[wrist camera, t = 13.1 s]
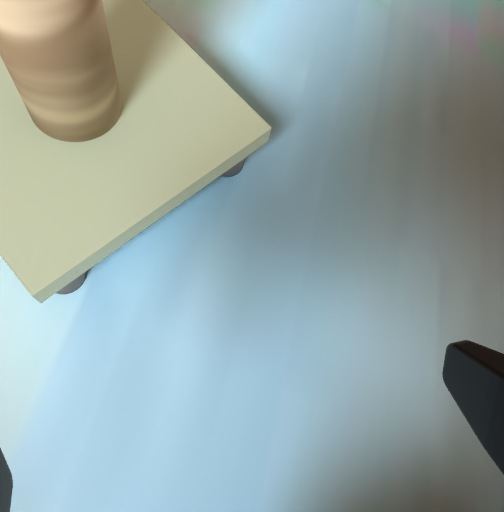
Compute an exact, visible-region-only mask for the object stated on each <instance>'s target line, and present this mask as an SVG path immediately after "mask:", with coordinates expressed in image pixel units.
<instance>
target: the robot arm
mask: <svg viewBox="0 0 504 512" xmlns="http://www.w3.org/2000/svg"><path fill="white" fill-rule="evenodd" d="M443 380H444V383H445V385H446V387H447V388H448V390H449V392H450V393H451V395H452V397H453V398H454V400H455V402H456V403H457V405H458V406H459V408H460V410H461V411H462V413H463V415H464V416H465V418H466V420H467V421H468V423H469V425H470V426H471V428H472V429H473V431H474V433H475V434H476V436H477V438H478V439H479V441H480V442H481V444H482V445H483V447H484V448H485V450H486V451H487V452H488V454H489V455H490V457H491V458H492V459H493V461H494V462H495V463H496V465H497V466H498V467H499V469H500V470H501V471H502V473H503V474H504V354H502V353H500V352H497V351H495V350H492V349H489V348H487V347H484V346H482V345H479V344H476V343H474V342H471V341H468V340H463V341H459V342H454V343H451V344H449V345H448V346H447V348H446V354H445V360H444V366H443ZM12 488H13V480H12V474H11V472H10V469H9V467H8V465H7V462H6V460H5V457H4V455H3V453H2V450H1V448H0V512H10V506H11V497H12Z"/></svg>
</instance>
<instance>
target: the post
mask: <svg viewBox="0 0 504 512" xmlns="http://www.w3.org/2000/svg"><path fill="white" fill-rule="evenodd" d="M0 56H1V58H2V60H3V62H4V64H5V66H6V68H7V70H8V72H9V74H10V76H11V78H12V80H13V82H14V84H15V86H16V88H17V90H18V92H19V94H20V96H21V98H22V100H23V102H24V104H25V106H26V108H27V110H28V112H29V114H30V117H31V119H32V121H33V122H34V124H35V125H36V126H37V127H38V129H39V130H41V131H42V132H43V133H44V134H46V135H48V136H50V137H52V138H54V139H57V140H60V141H65V142H84V141H89V140H92V139H95V138H98V137H100V136H102V135H103V134H105V133H107V132H108V131H109V130H110V129H111V128H112V127H113V126H114V125H115V124H116V122H117V121H118V119H119V117H120V114H121V110H122V101H121V96H120V90H119V85H118V80H117V75H116V69H115V64H114V59H113V54H112V48H111V43H110V38H109V33H108V27H107V22H106V17H105V12H104V6H103V1H102V0H0Z"/></svg>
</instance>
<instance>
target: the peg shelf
mask: <svg viewBox="0 0 504 512" xmlns="http://www.w3.org/2000/svg"><path fill="white" fill-rule="evenodd" d="M102 1H103V6H104V12H105V17H106V22H107V27H108V33H109V38H110V43H111V48H112V54H113V59H114V64H115V69H116V75H117V80H118V85H119V90H120V96H121V101H122V110H121V114H120V117H119V119H118V121H117V122H116V124H115V125H114V126H113V127H112V128H111V129H110V130H109V131H108V132H107V133H105V134H103V135H102V136H100V137H98V138H95V139H92V140H89V141H84V142H65V141H60V140H57V139H54V138H52V137H50V136H48V135H46V134H44V133H43V132H42V131H41V130H39V129H38V127H37V126H36V125H35V124H34V122H33V121H32V119H31V117H30V114H29V112H28V110H27V108H26V106H25V104H24V102H23V100H22V98H21V96H20V94H19V92H18V90H17V88H16V86H15V84H14V82H13V80H12V78H11V76H10V74H9V72H8V70H7V68H6V66H5V64H4V62H3V60H2V58H1V56H0V256H1V257H2V258H3V259H4V261H5V262H6V263H7V265H8V266H9V267H10V268H11V270H12V271H13V272H14V273H15V275H16V276H17V277H18V279H19V280H20V281H21V282H22V284H23V285H24V286H25V288H26V289H27V290H28V291H29V293H30V294H31V295H32V296H33V297H34V298H35V299H36V300H38V301H39V302H40V303H42V302H44V301H45V300H46V299H48V298H49V297H51V296H52V295H53V294H55V293H58V294H68V293H72V292H74V291H76V290H77V289H78V288H79V287H80V286H81V285H82V284H83V282H84V280H85V275H86V271H87V270H89V269H90V268H91V267H93V266H94V265H96V264H97V263H98V262H100V261H101V260H103V259H104V258H105V257H107V256H108V255H110V254H111V253H112V252H114V251H115V250H117V249H118V248H119V247H121V246H122V245H124V244H125V243H126V242H128V241H129V240H131V239H132V238H133V237H135V236H136V235H138V234H139V233H141V232H142V231H143V230H145V229H146V228H148V227H149V226H150V225H152V224H153V223H155V222H156V221H157V220H159V219H160V218H162V217H163V216H164V215H166V214H167V213H169V212H170V211H171V210H173V209H174V208H176V207H177V206H178V205H180V204H181V203H183V202H184V201H185V200H187V199H188V198H190V197H191V196H192V195H194V194H195V193H197V192H198V191H199V190H201V189H202V188H204V187H205V186H206V185H208V184H209V183H211V182H212V181H213V180H215V179H216V178H218V177H219V176H223V177H231V176H234V175H236V174H238V173H239V172H240V171H241V169H242V166H243V162H244V158H246V157H247V156H249V155H250V154H251V153H253V152H254V151H256V150H257V149H258V148H260V147H261V146H263V145H264V144H265V143H267V142H268V140H269V137H270V133H271V129H272V128H271V127H270V126H269V125H268V124H267V123H266V122H265V121H264V120H263V119H262V118H261V117H260V116H259V115H258V114H257V113H256V112H255V111H254V110H253V109H252V108H251V107H250V106H249V105H248V104H247V103H246V102H245V101H244V100H243V99H242V98H241V97H240V96H239V95H238V94H237V93H236V92H235V91H234V90H233V89H232V88H231V87H230V86H229V85H228V84H227V83H226V82H225V81H224V80H223V79H222V78H221V77H220V76H219V75H218V74H217V73H216V72H215V71H214V70H213V69H212V68H211V67H210V66H209V65H208V64H207V63H206V62H205V61H204V60H203V59H202V58H201V57H200V56H199V55H198V54H197V53H196V52H195V51H194V50H193V49H192V48H191V47H190V46H189V45H188V44H187V43H186V42H185V41H184V40H183V39H182V38H181V37H180V36H179V35H178V34H177V33H176V32H175V31H174V30H173V29H172V28H171V27H170V26H169V25H168V24H167V23H165V22H164V21H163V20H162V19H161V18H160V17H159V16H158V15H157V14H156V13H155V12H154V11H153V10H152V9H151V8H150V7H149V6H148V5H147V4H146V3H145V2H144V1H143V0H102Z"/></svg>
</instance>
